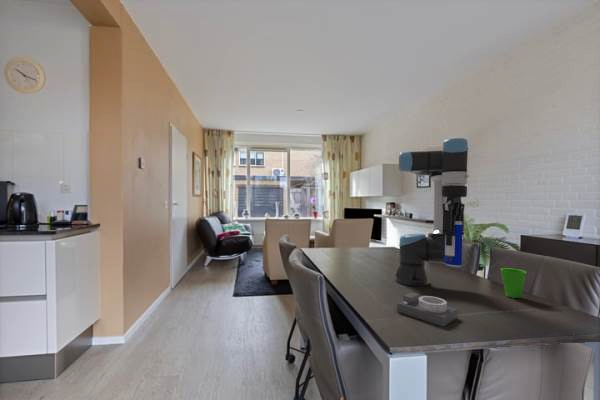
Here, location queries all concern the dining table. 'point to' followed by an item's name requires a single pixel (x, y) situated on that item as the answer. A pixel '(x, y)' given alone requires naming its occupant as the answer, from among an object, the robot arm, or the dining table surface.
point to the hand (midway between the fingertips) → (453, 254)
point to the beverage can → (456, 247)
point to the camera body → (427, 309)
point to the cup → (513, 281)
